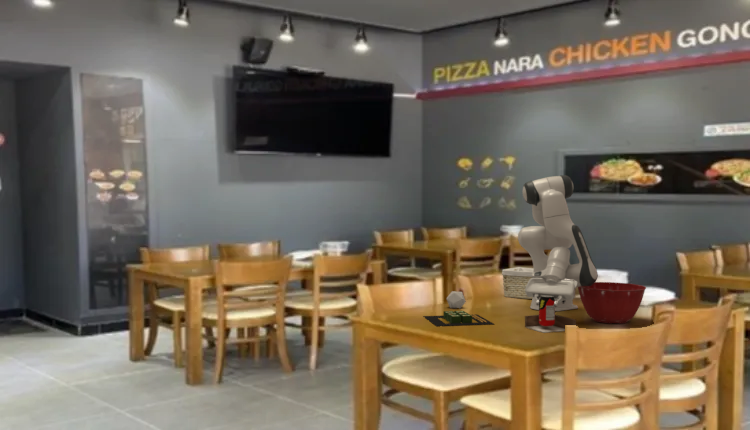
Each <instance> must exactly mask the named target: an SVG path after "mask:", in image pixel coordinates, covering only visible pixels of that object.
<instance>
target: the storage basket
mask: <svg viewBox="0 0 750 430" xmlns="http://www.w3.org/2000/svg"><path fill="white" fill-rule="evenodd" d="M501 271H502V272H501V275H502V280H503V281H502V282H503V283H502V285H503V295H504V297H505V298H514V299H523V300H531V299H532V297H528V296H527V295H526V293H525V288H526V286H527V283H528V281H529V280H530V279H531V278H532V273H533V272H534V269H533V267H522V266H516V267H511V268H505V269H502V270H501Z"/></svg>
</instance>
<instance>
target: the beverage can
mask: <svg viewBox="0 0 750 430" xmlns="http://www.w3.org/2000/svg"><path fill="white" fill-rule="evenodd" d="M554 302H555V299H554V296H552V295H541V297H540V299H539V310H538V315H539V324H541V325H542V326H553V325H554V324H555V315H556V311H555V307H554Z"/></svg>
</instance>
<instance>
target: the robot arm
mask: <svg viewBox="0 0 750 430" xmlns="http://www.w3.org/2000/svg"><path fill="white" fill-rule="evenodd" d="M573 193H574V183H573V180H572V179H571V177H570V176H568V175H565V174H564V175H555V176H554V175H553V176H546V177H543V178H538V179H535V180H529V181H526V182H525V183H524V184H523V187H522V197H523V200H525V202H526V203H527V204H529V205H531V209H532V211H531V212H532V218H533V220H534V221H535V223H537V224H538V225H530V226H525V227H522V228H521V229H520V230H519V231H518V234H517V240H518V244H519V245H520V247H522V248H523V249H524V250H525V251H526V252H527V253H528V254H529V255H530V258H531V260H532V266H533V267H532V268H533V269H534V272H533V273H532V278H531V279H530V280H529V281H528V283H527V286H526V288H525V293H526V295H527V296H528V297H532V300H531V303H530V306H529V308H530V309H533V310H537V311H539V299H540V297H541V295H552V296H554V299H555V302H554V307H555V312H562V311H567V310H569V311H570V310H574V309H578V305H577V304H573V303H574V302H573V300H574V299H575V298H576V289H578V287H579V286H592V285H593V284H594V283H595V282H597V281H598V276H599V274H598V270H597V268H596V265H595V264H594V262H593V259H592V257H591V253H590V251H589V249H588V246H587V243H586V240H585V238H584V236H583V233H582V232H583V231H582V230H581V229H580V227H579V226H578V225H576V224H575V223H574V222H573V220H572V219H571V215H570V211H569V206H568V203H567V200H566V199H569V198H571V197H572V195H573ZM572 245H573V248H574V251H575V254H576V256H577V258H578V261H579V262H578V263H574V264H571V262H570V260H571V259H570V258H571V250H570V248H571V247H572ZM545 250H551V251H550V252H549V254H548V255H547V254H546V253H545Z"/></svg>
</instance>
